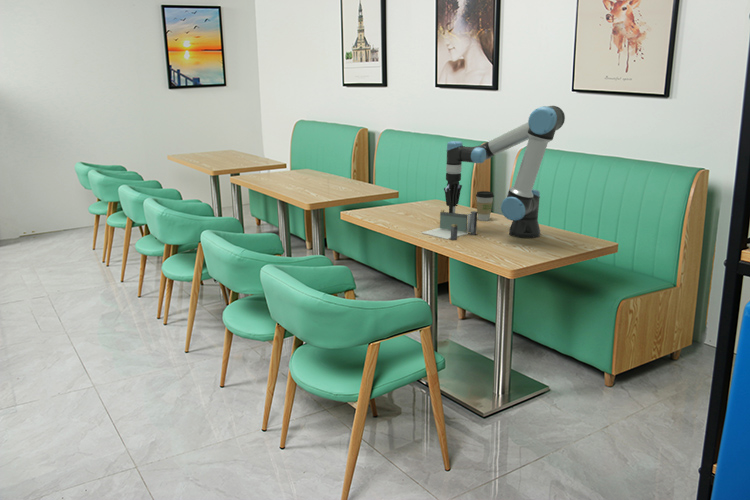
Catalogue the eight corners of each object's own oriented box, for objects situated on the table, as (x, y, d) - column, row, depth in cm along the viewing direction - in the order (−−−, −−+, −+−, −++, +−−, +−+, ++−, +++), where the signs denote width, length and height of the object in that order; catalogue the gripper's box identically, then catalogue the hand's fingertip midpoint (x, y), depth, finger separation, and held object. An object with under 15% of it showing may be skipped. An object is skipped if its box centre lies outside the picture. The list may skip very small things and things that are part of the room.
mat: (469, 233, 311) (469, 232, 311) (447, 239, 300) (447, 238, 300) (442, 227, 323) (442, 226, 323) (421, 233, 312) (421, 232, 312)
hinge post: (476, 234, 310) (478, 211, 306) (473, 235, 308) (474, 212, 305) (472, 233, 311) (473, 211, 308) (469, 234, 310) (470, 211, 307)
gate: (471, 231, 312) (472, 212, 309) (470, 232, 310) (471, 213, 307) (440, 227, 319) (441, 209, 316) (439, 228, 317) (440, 209, 315)
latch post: (456, 239, 301) (457, 224, 299) (453, 240, 299) (454, 225, 297) (454, 238, 302) (454, 223, 300) (450, 239, 300) (451, 224, 298)
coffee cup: (492, 222, 336) (494, 194, 332) (474, 221, 338) (475, 193, 334) (492, 218, 346) (494, 191, 341) (474, 217, 347) (476, 190, 343)
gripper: (454, 170, 317) (452, 215, 324) (439, 173, 308) (438, 219, 314) (467, 171, 312) (465, 217, 319) (452, 175, 303) (450, 222, 310)
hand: (451, 218), depth 317 cm, fingers closed
